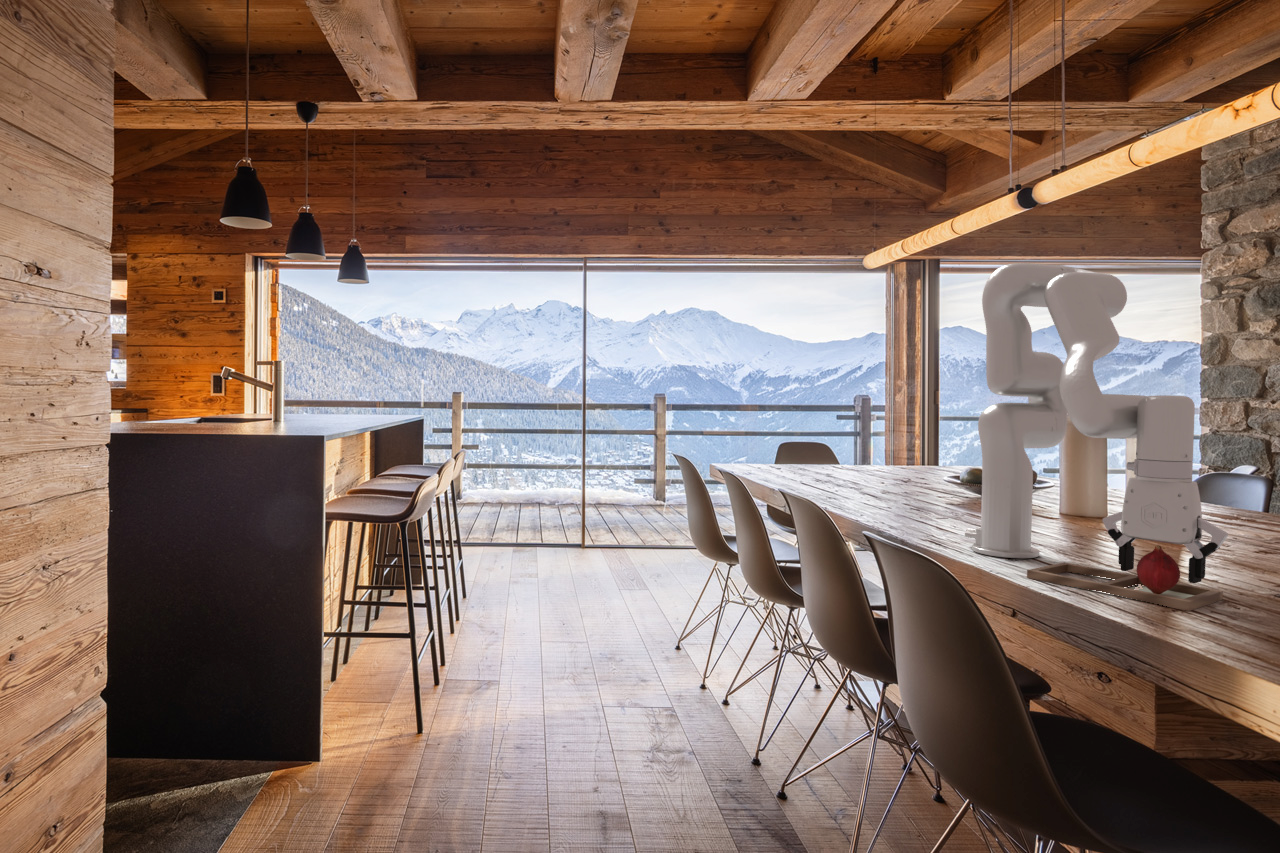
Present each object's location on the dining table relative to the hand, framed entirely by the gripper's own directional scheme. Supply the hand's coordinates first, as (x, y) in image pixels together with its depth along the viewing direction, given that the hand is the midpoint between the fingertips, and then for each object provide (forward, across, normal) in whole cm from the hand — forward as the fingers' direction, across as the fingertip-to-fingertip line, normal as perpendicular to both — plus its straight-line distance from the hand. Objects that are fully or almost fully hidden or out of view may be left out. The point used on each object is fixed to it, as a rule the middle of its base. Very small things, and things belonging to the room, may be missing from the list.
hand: (1159, 575), depth 118 cm
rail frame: (+3, -6, 0) cm, 7 cm away
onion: (+3, 0, 0) cm, 3 cm away
